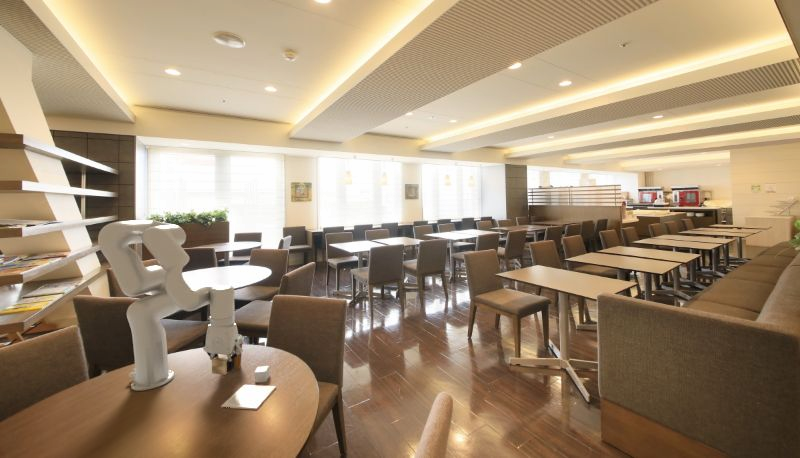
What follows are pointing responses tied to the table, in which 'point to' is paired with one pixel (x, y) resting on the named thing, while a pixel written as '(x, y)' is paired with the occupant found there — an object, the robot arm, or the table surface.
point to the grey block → (262, 374)
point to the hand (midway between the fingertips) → (223, 369)
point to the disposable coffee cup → (238, 359)
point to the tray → (249, 397)
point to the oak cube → (220, 364)
